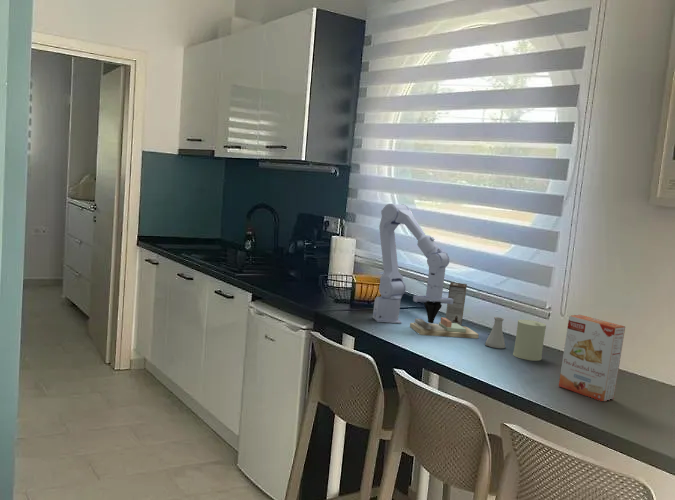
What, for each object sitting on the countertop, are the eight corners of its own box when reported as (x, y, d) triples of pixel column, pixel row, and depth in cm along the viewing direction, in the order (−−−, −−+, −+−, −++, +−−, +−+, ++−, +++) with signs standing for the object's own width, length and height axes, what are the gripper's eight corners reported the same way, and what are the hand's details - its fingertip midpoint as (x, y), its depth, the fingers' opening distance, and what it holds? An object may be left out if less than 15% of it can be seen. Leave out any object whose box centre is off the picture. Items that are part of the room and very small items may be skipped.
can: (526, 361, 223) (531, 324, 221) (507, 353, 231) (511, 318, 229) (547, 360, 227) (552, 324, 226) (527, 352, 235) (532, 318, 234)
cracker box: (557, 387, 196) (568, 314, 194) (569, 384, 200) (579, 313, 198) (603, 403, 185) (615, 326, 183) (614, 400, 189) (626, 325, 187)
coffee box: (445, 321, 273) (450, 281, 271) (461, 324, 271) (467, 283, 270) (444, 326, 264) (449, 284, 262) (461, 328, 262) (466, 287, 261)
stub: (446, 331, 247) (448, 322, 247) (438, 325, 256) (439, 316, 256) (465, 332, 249) (467, 323, 249) (456, 326, 258) (457, 318, 257)
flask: (507, 346, 241) (511, 318, 240) (503, 350, 234) (507, 321, 233) (487, 342, 244) (490, 314, 243) (482, 346, 237) (486, 317, 236)
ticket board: (420, 334, 244) (421, 325, 244) (409, 326, 256) (410, 317, 255) (478, 338, 249) (479, 329, 248) (465, 330, 260) (466, 321, 260)
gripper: (419, 285, 244) (414, 323, 245) (458, 288, 247) (453, 326, 248) (413, 282, 251) (408, 319, 252) (451, 285, 254) (446, 321, 255)
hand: (430, 322), depth 251 cm, fingers closed
